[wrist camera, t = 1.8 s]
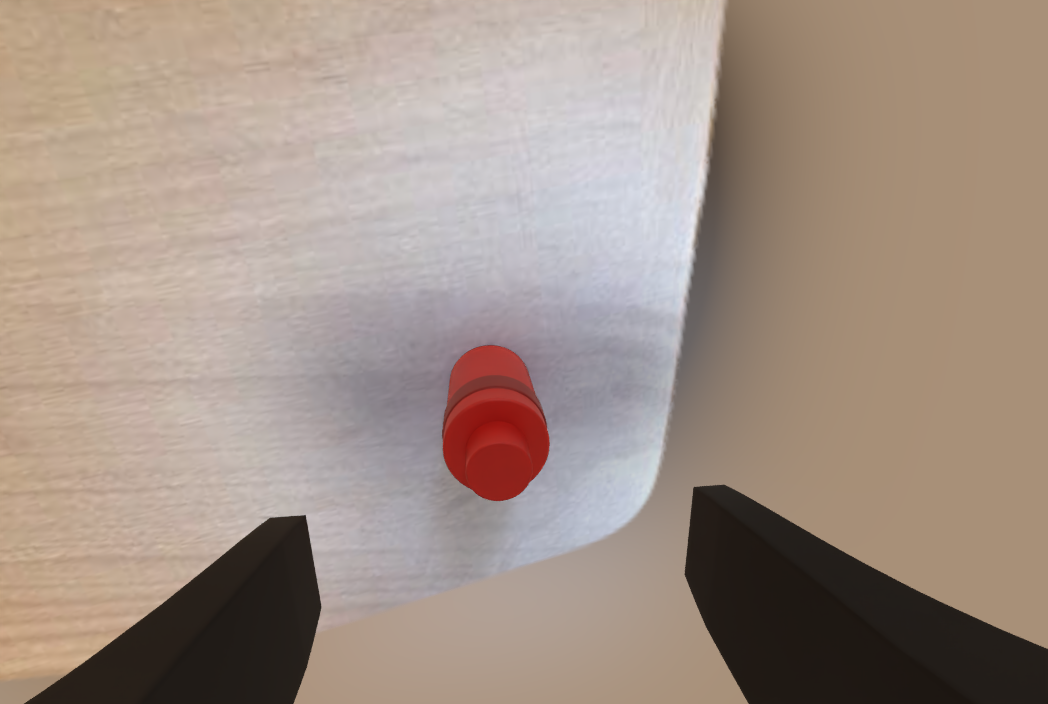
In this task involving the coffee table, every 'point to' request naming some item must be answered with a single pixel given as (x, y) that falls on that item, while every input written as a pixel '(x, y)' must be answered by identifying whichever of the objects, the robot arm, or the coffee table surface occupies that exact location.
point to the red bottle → (493, 424)
